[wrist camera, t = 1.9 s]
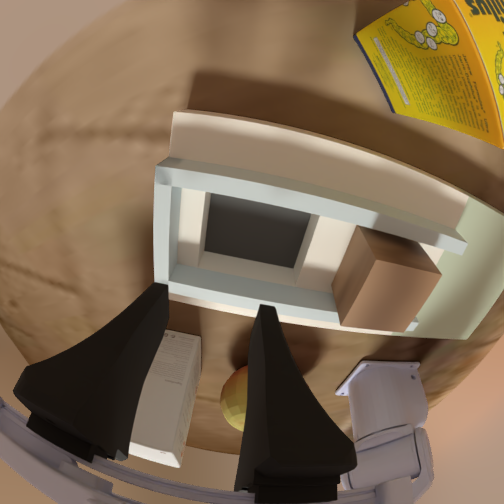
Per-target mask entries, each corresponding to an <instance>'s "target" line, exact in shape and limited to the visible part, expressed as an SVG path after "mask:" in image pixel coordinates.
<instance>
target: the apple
mask: <svg viewBox="0 0 504 504" xmlns="http://www.w3.org/2000/svg"><path fill="white" fill-rule="evenodd" d="M247 379H248V365H246V366H244V367H242V368H240V369H238V370H237V371H235V372H234V373H233V374H232V375H231V376H230V378H229V379H228V380H227V381H226V383H225V384H224V386H223V388H222V392H221V399H220V405H221V408H222V411H223V414H224V416H225V419H226V420H227V421H228V422H229V424H230V425H232V426H233V427H235V428H236V429H238V430H241V431H243V430H244V423H245V416H246V408H247ZM306 384H307V383H306ZM308 387H309V386H308Z"/></svg>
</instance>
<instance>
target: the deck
mask: <svg viewBox="0 0 504 504" xmlns="http://www.w3.org/2000/svg"><path fill="white" fill-rule="evenodd" d="M356 225H360V226H364V227H367V228H371V229H375V230H379V231H382V232H386V233H389V234H393V235H397V236H400V237H404V238H407V239H410V240H414V241H417V242H418V243H419V244H420V245H421V246H422V248H423V249H424V250H425V252H426V253H427V254H428V256H429V257H430V258H431V260H432V261H433V262H434V264H435V265H436V267H437V268H438V269H439V271H440V272H441V274H442V276H441V278H440V280H439V281H438V283H437V285H436V286H435V288H434V290H433V291H432V293H431V294H430V296H429V297H428V299H427V300H426V302H425V303H424V305H423V306H422V308H421V309H420V311H419V312H418V314H417V315H416V317H415V318H414V319H413V321H412V322H411V323H410V325H409V326H408V328H407V329H406V330H405V332H404V333H401V332H390V331H380V330H370V329H361V328H352V327H344V326H340V322H339V317H338V312H337V308H336V304H335V299H334V295H333V291H332V287H331V284H332V282H333V279H334V277H335V275H336V273H337V270H338V268H339V266H340V264H341V261H342V259H343V257H344V254H345V252H346V249H347V247H348V245H349V242H350V240H351V237H352V235H353V232H354V230H355V227H356ZM153 245H154V280H155V282H158V283H163V284H167V285H168V286H169V300H174V301H178V302H182V303H187V304H191V305H196V306H200V307H205V308H210V309H215V310H220V311H225V312H230V313H235V314H240V315H245V316H251V317H256V316H257V312H258V309H259V306H260V304H264V305H270V306H274V307H275V308H276V310H277V314H278V318H279V321H280V322H286V323H293V324H299V325H306V326H313V327H320V328H328V329H336V330H344V331H352V332H362V333H371V334H382V335H393V336H406V337H421V338H440V339H467V338H468V337H469V336H470V335H471V333H472V332H473V331H474V330H475V328H476V327H477V326H478V325H479V323H480V322H481V321H482V319H483V318H484V317H485V315H486V314H487V313H488V311H489V310H490V308H491V307H492V306H493V304H494V303H495V301H496V300H497V298H498V297H499V295H500V294H501V292H502V291H503V289H504V213H502V212H501V211H499V210H497V209H496V208H494V207H492V206H491V205H489V204H487V203H486V202H484V201H482V200H480V199H479V198H477V197H475V196H473V195H472V194H470V193H468V192H466V191H464V190H462V189H460V188H458V187H456V186H454V185H452V184H450V183H448V182H446V181H444V180H442V179H440V178H438V177H436V176H434V175H432V174H429V173H427V172H425V171H423V170H420V169H418V168H416V167H414V166H411V165H409V164H406V163H404V162H401V161H399V160H396V159H394V158H391V157H389V156H386V155H383V154H381V153H378V152H375V151H372V150H370V149H367V148H364V147H361V146H358V145H355V144H352V143H349V142H346V141H342V140H339V139H336V138H332V137H329V136H325V135H322V134H318V133H315V132H311V131H307V130H303V129H299V128H295V127H291V126H287V125H282V124H278V123H273V122H268V121H263V120H258V119H253V118H247V117H242V116H236V115H229V114H223V113H216V112H208V111H200V110H190V109H185V110H180V111H175V112H174V114H173V122H172V130H171V139H170V149H169V157H168V158H166V159H165V160H163V161H162V162H160V163H159V164H158V165H156V167H155V186H154V220H153Z"/></svg>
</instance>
